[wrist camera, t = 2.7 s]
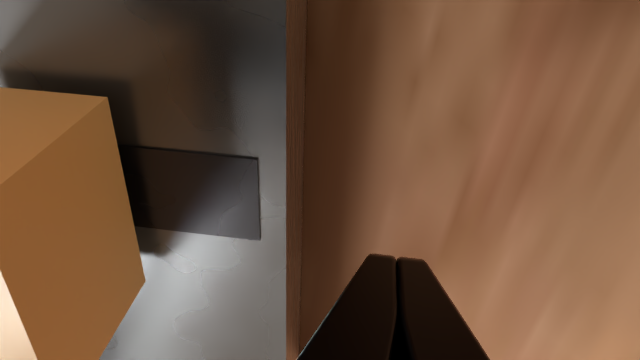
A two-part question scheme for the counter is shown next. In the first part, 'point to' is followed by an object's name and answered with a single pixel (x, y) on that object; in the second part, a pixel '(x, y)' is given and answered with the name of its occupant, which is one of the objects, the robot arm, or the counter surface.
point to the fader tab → (62, 227)
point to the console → (190, 157)
